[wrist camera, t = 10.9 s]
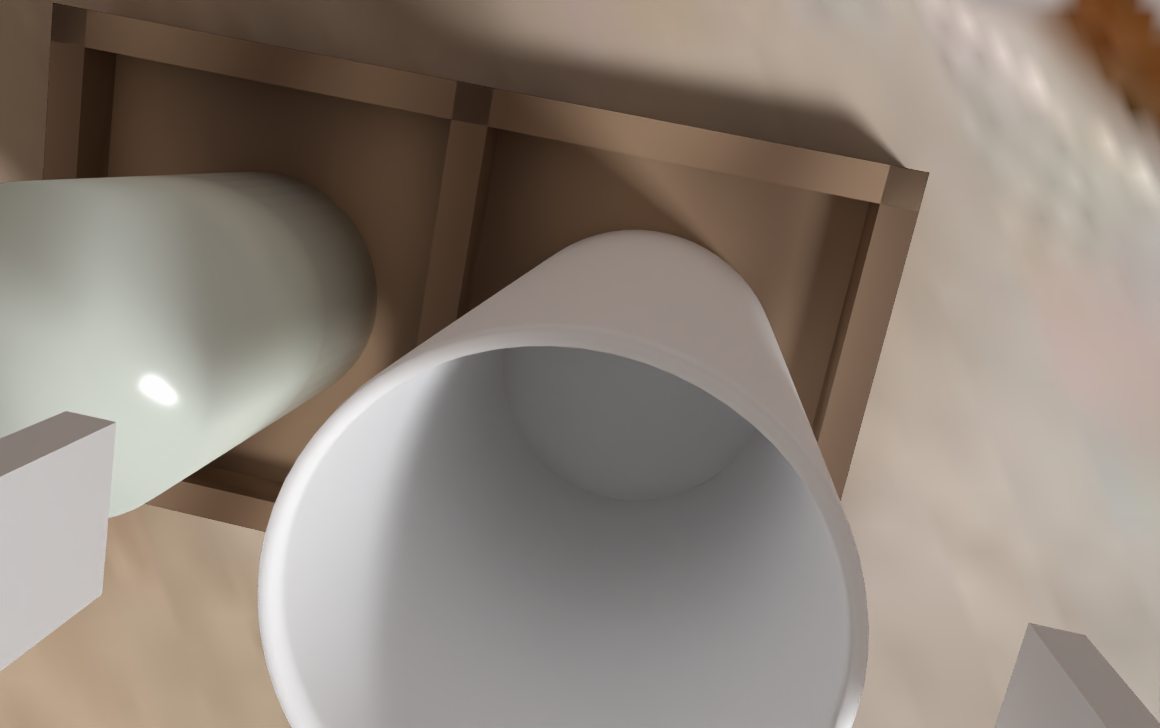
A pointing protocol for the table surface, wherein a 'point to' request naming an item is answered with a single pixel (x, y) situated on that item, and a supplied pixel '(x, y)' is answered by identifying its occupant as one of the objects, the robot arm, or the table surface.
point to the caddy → (481, 205)
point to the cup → (571, 519)
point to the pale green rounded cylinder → (175, 311)
